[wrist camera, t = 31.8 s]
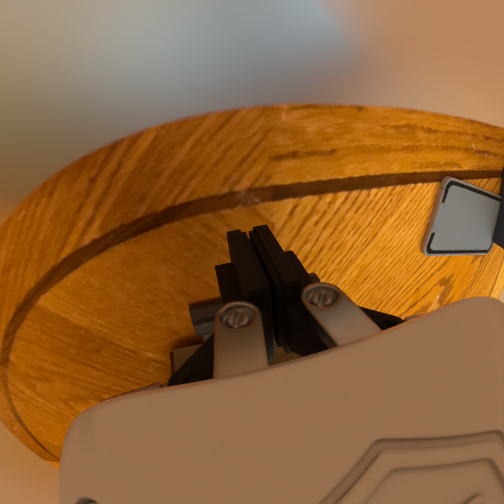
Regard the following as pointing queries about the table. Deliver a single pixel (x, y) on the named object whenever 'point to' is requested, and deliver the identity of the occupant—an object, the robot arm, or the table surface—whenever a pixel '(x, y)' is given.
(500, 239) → the stand
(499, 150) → the table surface
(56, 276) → the table surface
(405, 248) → the table surface
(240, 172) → the table surface
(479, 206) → the smartphone
